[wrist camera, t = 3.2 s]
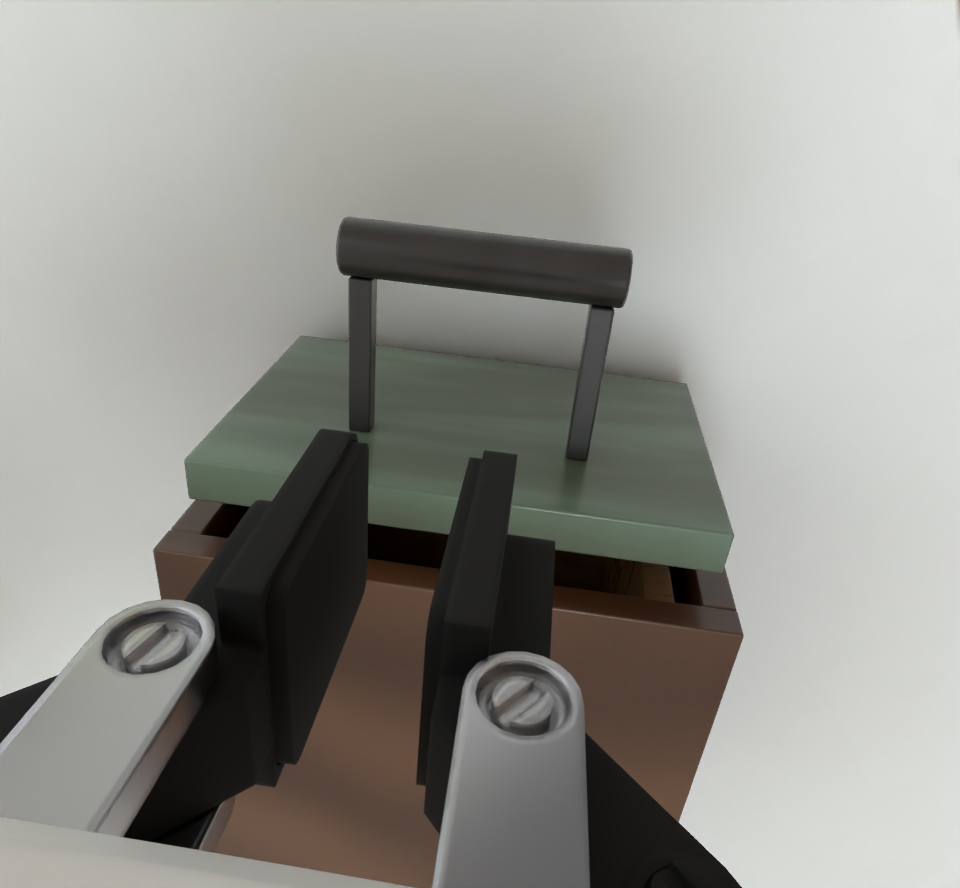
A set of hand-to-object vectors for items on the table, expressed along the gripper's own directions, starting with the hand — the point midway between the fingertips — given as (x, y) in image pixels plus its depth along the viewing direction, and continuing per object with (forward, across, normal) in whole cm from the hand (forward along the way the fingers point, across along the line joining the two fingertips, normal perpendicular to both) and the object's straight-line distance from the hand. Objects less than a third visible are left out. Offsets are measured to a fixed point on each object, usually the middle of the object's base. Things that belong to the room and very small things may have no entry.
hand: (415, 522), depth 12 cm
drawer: (+14, 0, +8) cm, 16 cm away
